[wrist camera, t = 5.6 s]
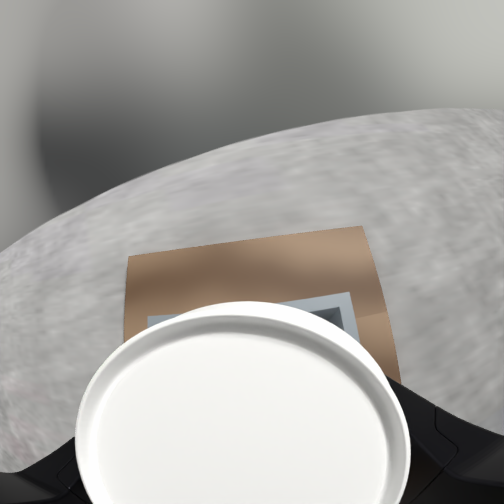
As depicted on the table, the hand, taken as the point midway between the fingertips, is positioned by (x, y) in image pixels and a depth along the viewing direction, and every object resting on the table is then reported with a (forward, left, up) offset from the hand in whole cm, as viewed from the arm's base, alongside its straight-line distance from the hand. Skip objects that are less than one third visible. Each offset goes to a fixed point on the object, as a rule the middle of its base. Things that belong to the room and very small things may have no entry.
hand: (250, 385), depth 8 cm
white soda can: (-1, -1, -7) cm, 7 cm away
